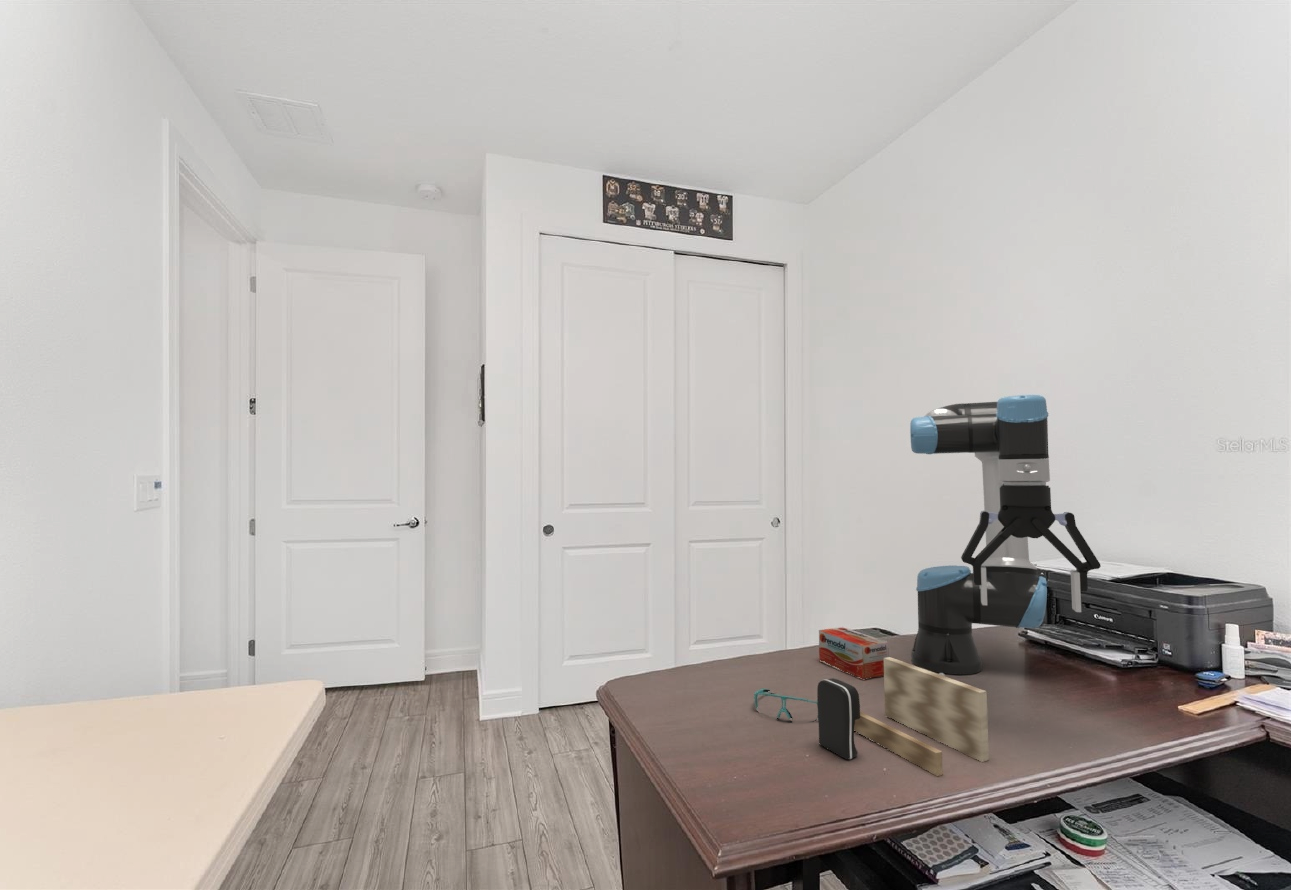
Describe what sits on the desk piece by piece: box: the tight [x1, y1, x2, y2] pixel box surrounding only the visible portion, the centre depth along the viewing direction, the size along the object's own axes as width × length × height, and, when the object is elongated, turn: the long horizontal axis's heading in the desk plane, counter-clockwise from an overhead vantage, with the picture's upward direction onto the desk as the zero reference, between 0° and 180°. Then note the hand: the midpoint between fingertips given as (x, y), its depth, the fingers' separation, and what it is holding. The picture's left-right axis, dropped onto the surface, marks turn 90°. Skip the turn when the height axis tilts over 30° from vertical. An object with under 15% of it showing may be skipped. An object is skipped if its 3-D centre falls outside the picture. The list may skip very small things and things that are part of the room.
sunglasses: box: [753, 688, 818, 720], centre depth 119 cm, size 14×15×5 cm
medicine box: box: [818, 626, 890, 679], centre depth 142 cm, size 15×8×8 cm, turn 25°
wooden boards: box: [854, 656, 990, 777], centre depth 104 cm, size 20×12×11 cm, turn 25°
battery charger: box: [816, 678, 861, 760], centre depth 101 cm, size 7×4×11 cm, turn 27°
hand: (1029, 607), depth 103 cm, fingers open, 13 cm apart
